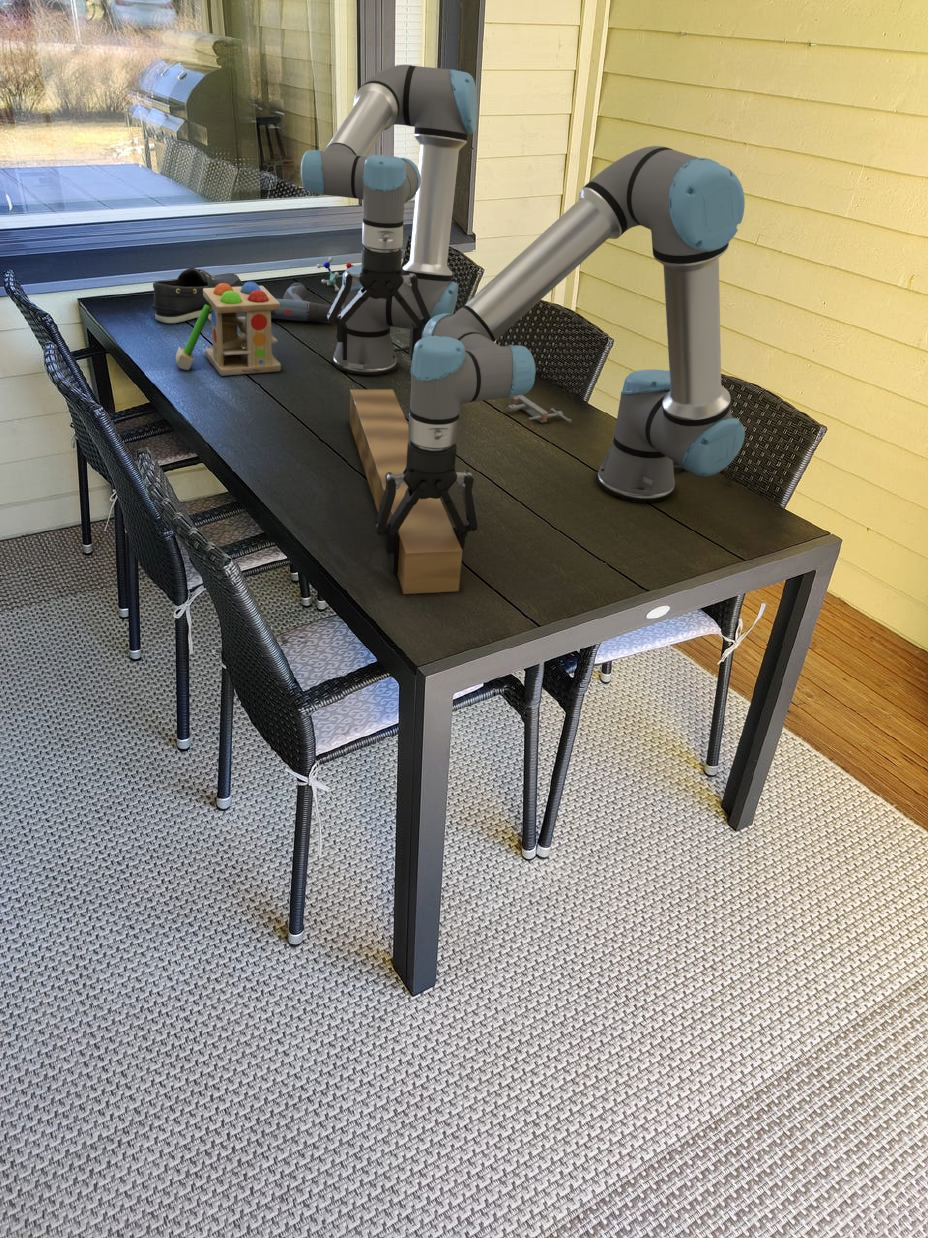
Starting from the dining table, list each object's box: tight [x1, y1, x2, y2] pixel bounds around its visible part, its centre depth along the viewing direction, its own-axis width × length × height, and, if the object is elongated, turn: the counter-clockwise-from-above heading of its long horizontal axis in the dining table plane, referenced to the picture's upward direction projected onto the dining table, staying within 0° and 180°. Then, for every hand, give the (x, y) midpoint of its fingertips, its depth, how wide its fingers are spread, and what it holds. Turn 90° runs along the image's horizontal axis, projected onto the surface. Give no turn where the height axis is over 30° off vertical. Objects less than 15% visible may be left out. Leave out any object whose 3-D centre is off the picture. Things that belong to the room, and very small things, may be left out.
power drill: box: [271, 282, 332, 322], centre depth 265 cm, size 5×19×20 cm
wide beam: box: [349, 388, 463, 595], centre depth 181 cm, size 67×9×8 cm, turn 13°
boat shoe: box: [152, 267, 243, 324], centre depth 261 cm, size 13×33×10 cm, turn 147°
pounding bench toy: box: [174, 281, 282, 377], centre depth 225 cm, size 23×14×18 cm, turn 116°
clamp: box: [506, 394, 572, 424], centre depth 219 cm, size 15×2×10 cm
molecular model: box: [316, 256, 358, 293], centre depth 287 cm, size 12×10×10 cm
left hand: (378, 358), depth 195 cm, fingers open, 13 cm apart
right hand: (423, 567), depth 162 cm, fingers closed on wide beam, 9 cm apart
